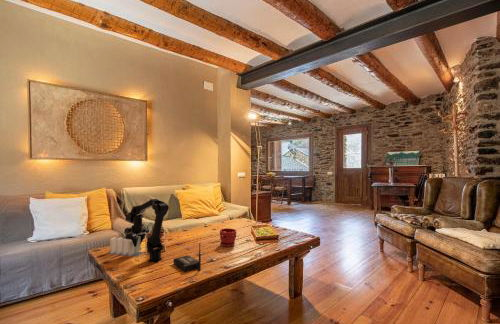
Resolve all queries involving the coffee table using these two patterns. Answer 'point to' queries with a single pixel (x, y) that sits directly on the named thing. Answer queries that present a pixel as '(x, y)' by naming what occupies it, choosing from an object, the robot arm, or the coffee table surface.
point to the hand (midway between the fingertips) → (137, 245)
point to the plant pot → (227, 237)
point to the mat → (126, 254)
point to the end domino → (113, 244)
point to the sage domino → (138, 245)
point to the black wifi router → (188, 262)
